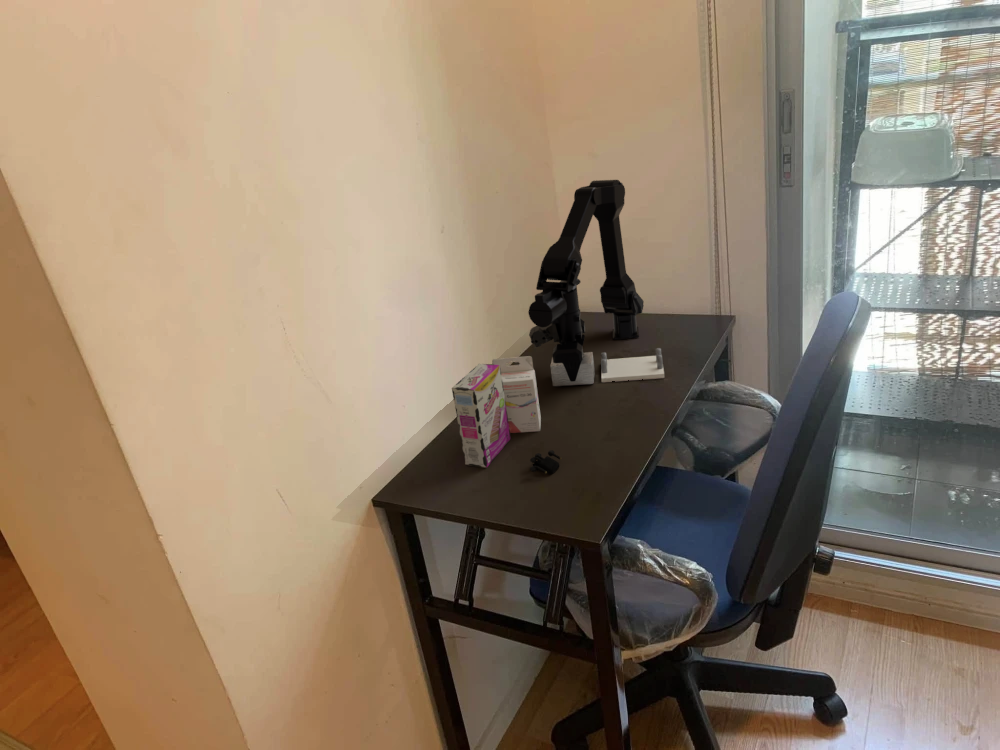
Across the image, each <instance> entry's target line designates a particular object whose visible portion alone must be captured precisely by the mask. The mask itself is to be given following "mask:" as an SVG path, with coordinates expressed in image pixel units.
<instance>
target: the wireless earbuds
mask: <svg viewBox="0 0 1000 750" xmlns="http://www.w3.org/2000/svg"><path fill="white" fill-rule="evenodd" d="M551 457H554V458H556V459H558V460H560V461H561V460H562V457H561V456H559V455H558V454H556V453H555V451H554V450H548V452H547V455H546V456H545V457H543V456H542V454H541V453H540V452H538V453H535V455H534V456H532V457H531V458H530V460H529V461H530V463H532V466H531V467H530V468H529V469H530V471H531V472H533V473H535V472H538V471H540V472H542V473H544V474H548V475H553V474H554V473H555V472H557V470H558V469H559V468H560V462H559V461H557V460H556V459H553V458H551Z"/></svg>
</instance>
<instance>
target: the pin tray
mask: <svg viewBox="0 0 1000 750" xmlns="http://www.w3.org/2000/svg"><path fill="white" fill-rule="evenodd" d="M600 357H601V358H600V365H601V367H600V368H601V383H612V381H615V382H626V381H628V380H629V381H639V380H640V381H642V379H643V380H655V379H656V380H657V379H665V369H664V364H663V363H664V362H663V354H662V348H661V347H657V348H655V355H646V356H633V357H623V358H620V357H619V358H610V359H608V357H607V352H605V351H604V352H601V353H600Z"/></svg>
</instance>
